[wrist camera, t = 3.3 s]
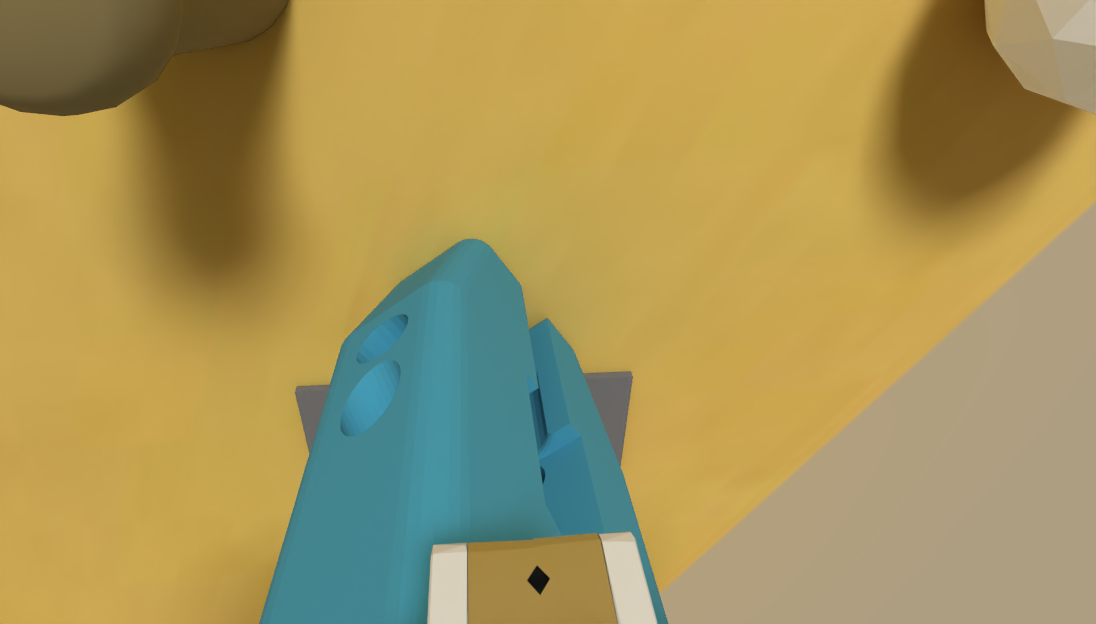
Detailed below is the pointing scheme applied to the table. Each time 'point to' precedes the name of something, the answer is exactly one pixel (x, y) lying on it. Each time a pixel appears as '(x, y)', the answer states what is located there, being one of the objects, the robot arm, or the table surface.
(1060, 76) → the white faceted ball
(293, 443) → the table surface
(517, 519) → the block
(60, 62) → the cork
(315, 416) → the mat
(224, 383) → the table surface
